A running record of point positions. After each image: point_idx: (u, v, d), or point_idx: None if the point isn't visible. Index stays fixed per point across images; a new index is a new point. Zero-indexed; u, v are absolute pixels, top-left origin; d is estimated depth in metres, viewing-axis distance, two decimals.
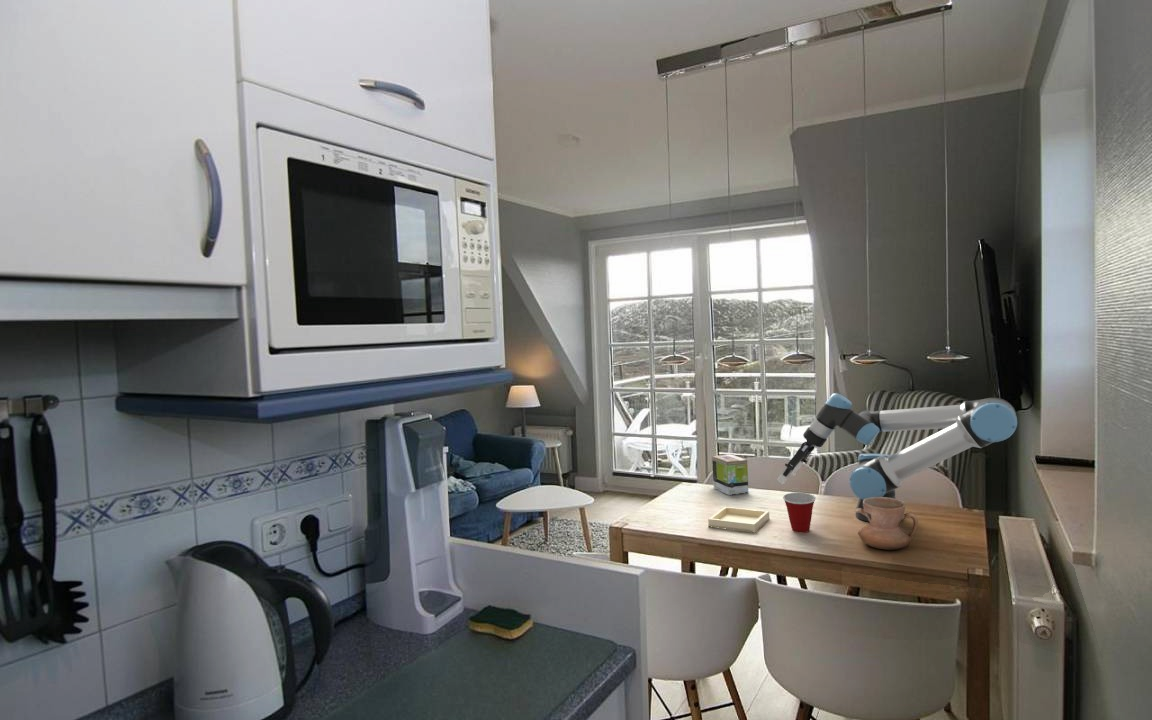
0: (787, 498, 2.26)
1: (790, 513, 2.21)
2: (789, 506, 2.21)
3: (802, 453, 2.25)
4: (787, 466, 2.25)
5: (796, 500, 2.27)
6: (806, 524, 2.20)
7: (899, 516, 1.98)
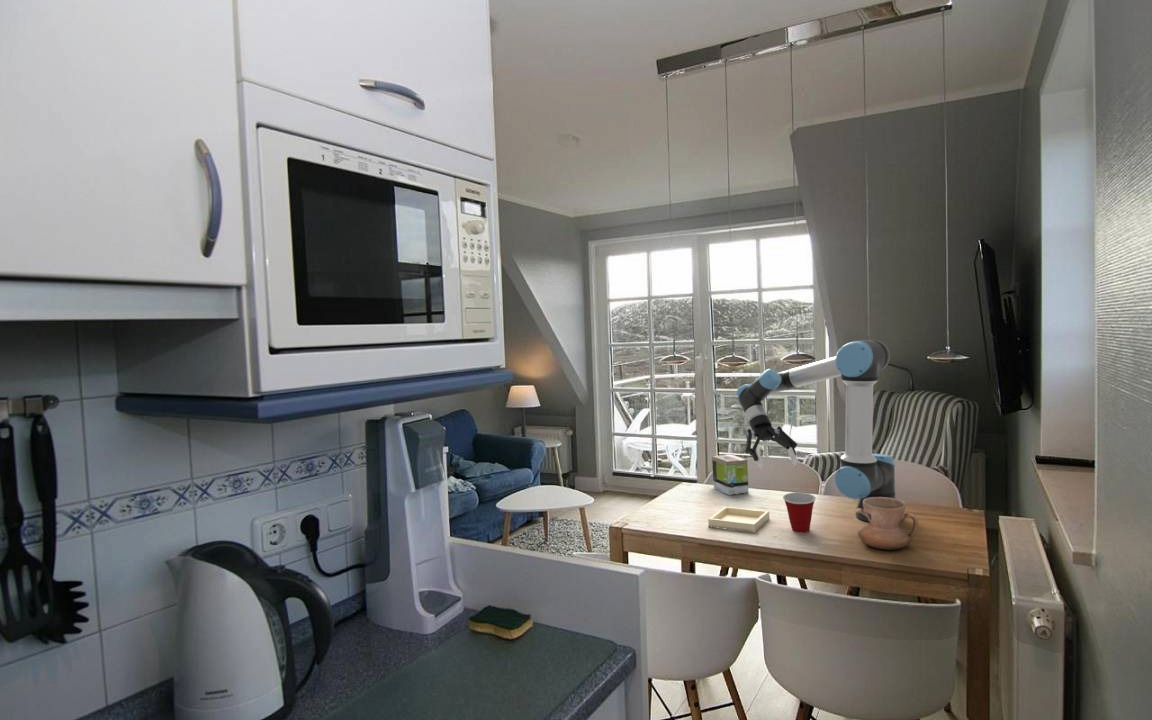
0: (787, 498, 2.26)
1: (790, 513, 2.21)
2: (789, 506, 2.21)
3: (748, 436, 2.41)
4: (746, 452, 2.38)
5: (796, 500, 2.27)
6: (806, 524, 2.20)
7: (899, 516, 1.98)
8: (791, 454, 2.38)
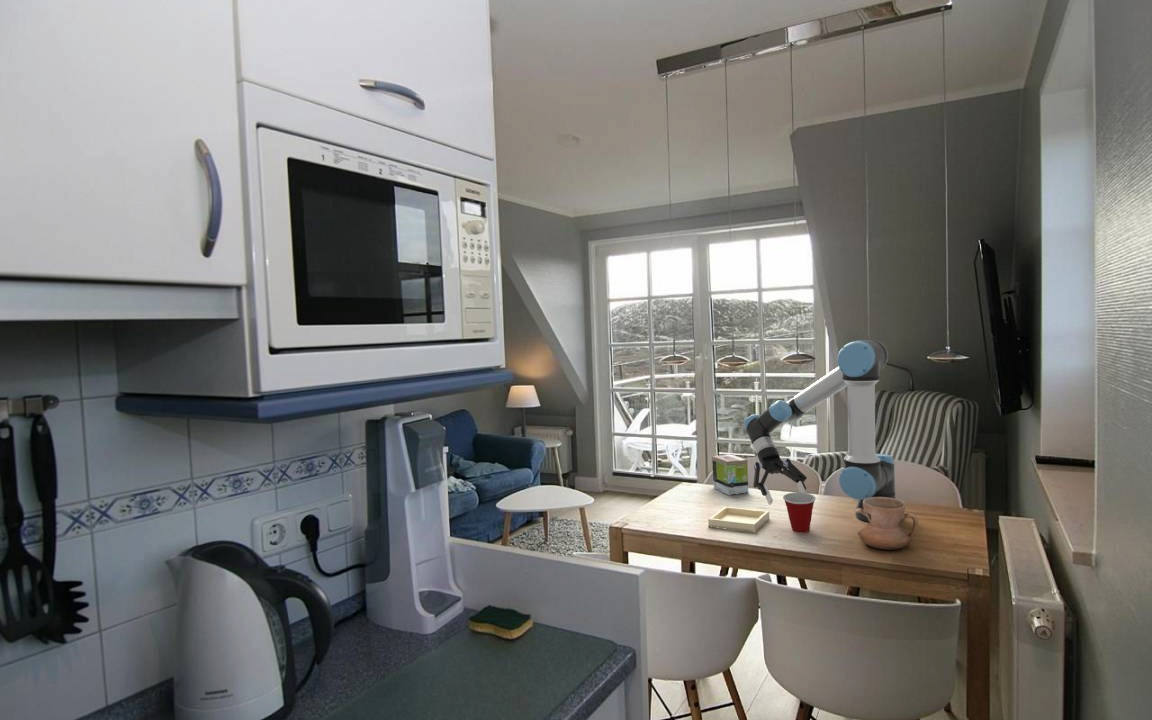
0: (787, 498, 2.26)
1: (790, 513, 2.21)
2: (789, 506, 2.21)
3: (756, 469, 2.35)
4: (754, 486, 2.32)
5: (796, 500, 2.27)
6: (806, 524, 2.20)
7: (899, 516, 1.98)
8: (800, 488, 2.32)
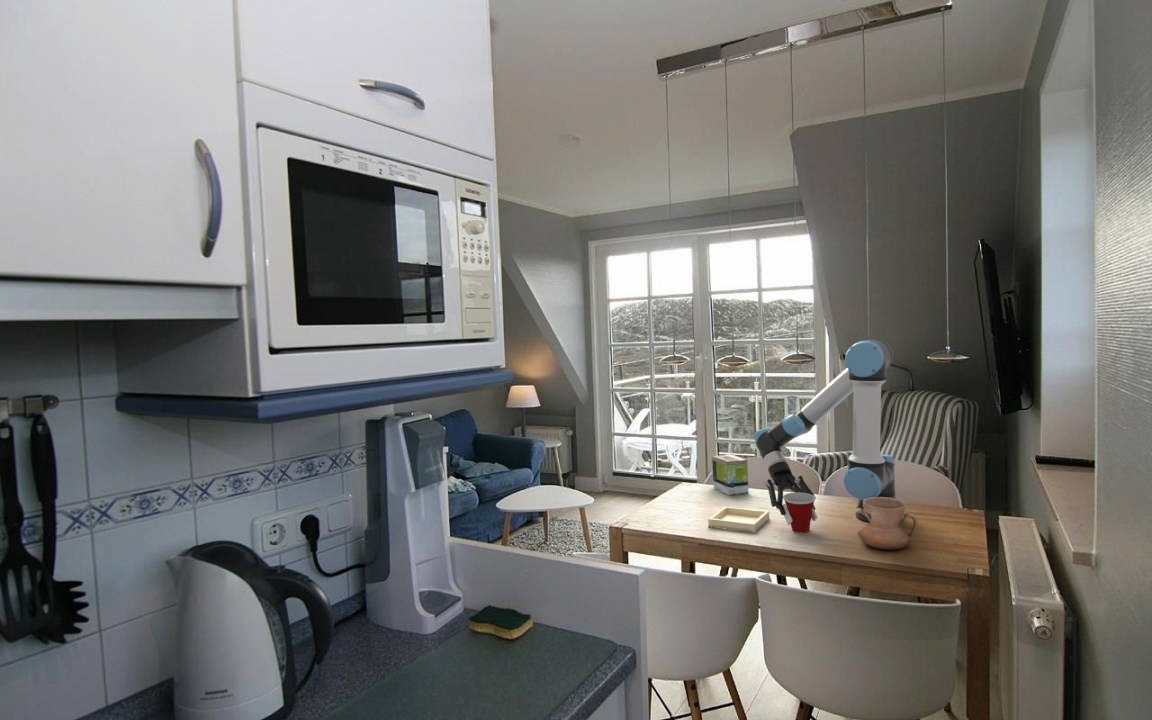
0: (787, 498, 2.26)
1: (790, 513, 2.21)
2: (789, 506, 2.21)
3: (769, 487, 2.29)
4: (772, 505, 2.25)
5: (796, 500, 2.27)
6: (806, 524, 2.20)
7: (899, 516, 1.98)
8: None
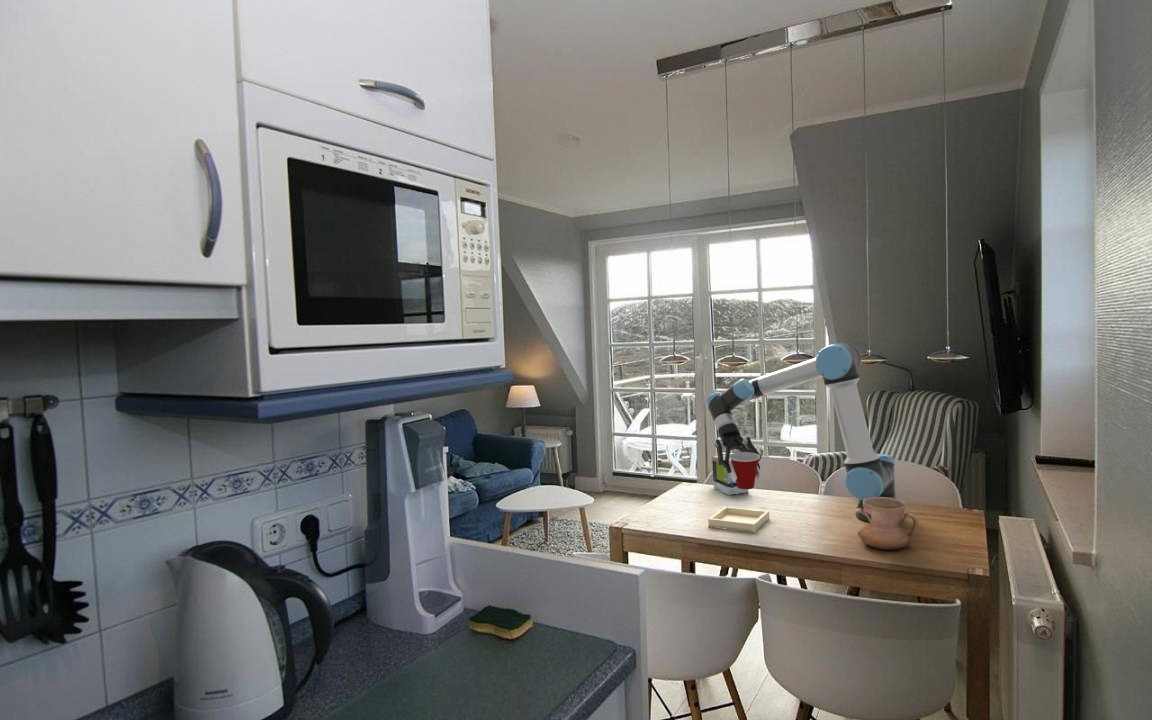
0: (734, 457, 2.36)
1: (735, 471, 2.31)
2: (734, 464, 2.31)
3: (718, 446, 2.39)
4: (719, 464, 2.35)
5: (742, 459, 2.37)
6: (750, 481, 2.30)
7: (899, 516, 1.98)
8: None
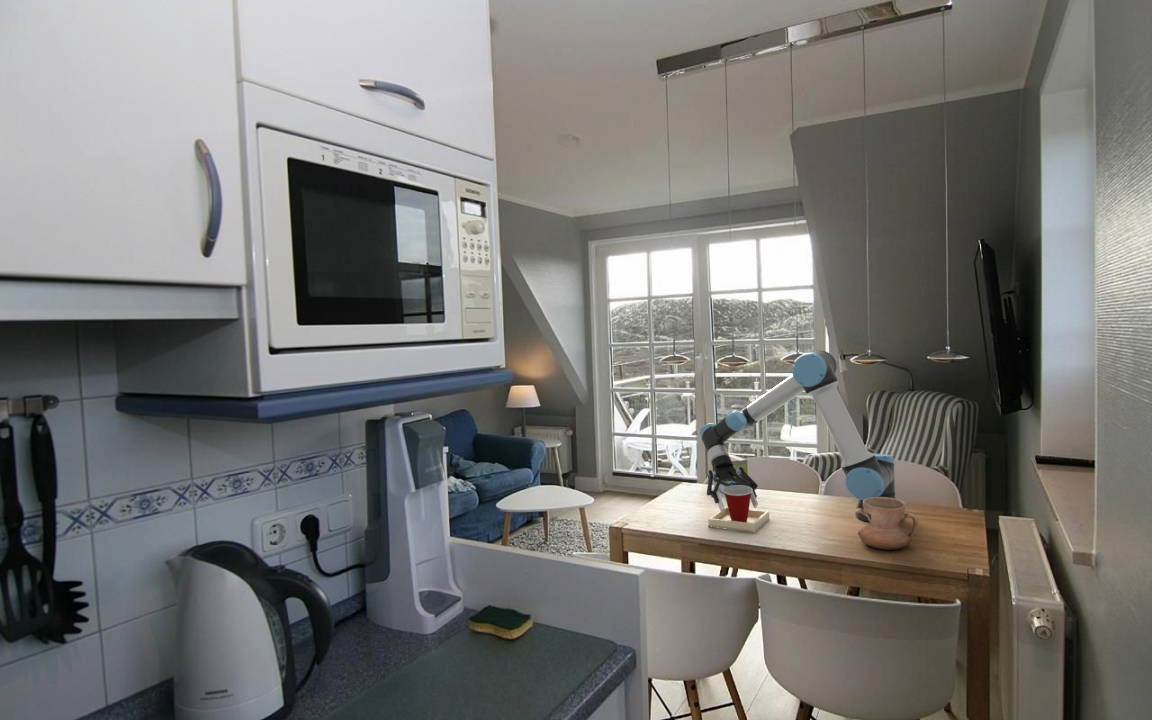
0: (727, 490, 2.38)
1: (729, 504, 2.34)
2: (727, 498, 2.33)
3: (709, 477, 2.41)
4: (707, 494, 2.38)
5: (736, 492, 2.39)
6: (743, 515, 2.32)
7: (899, 516, 1.98)
8: (751, 496, 2.38)
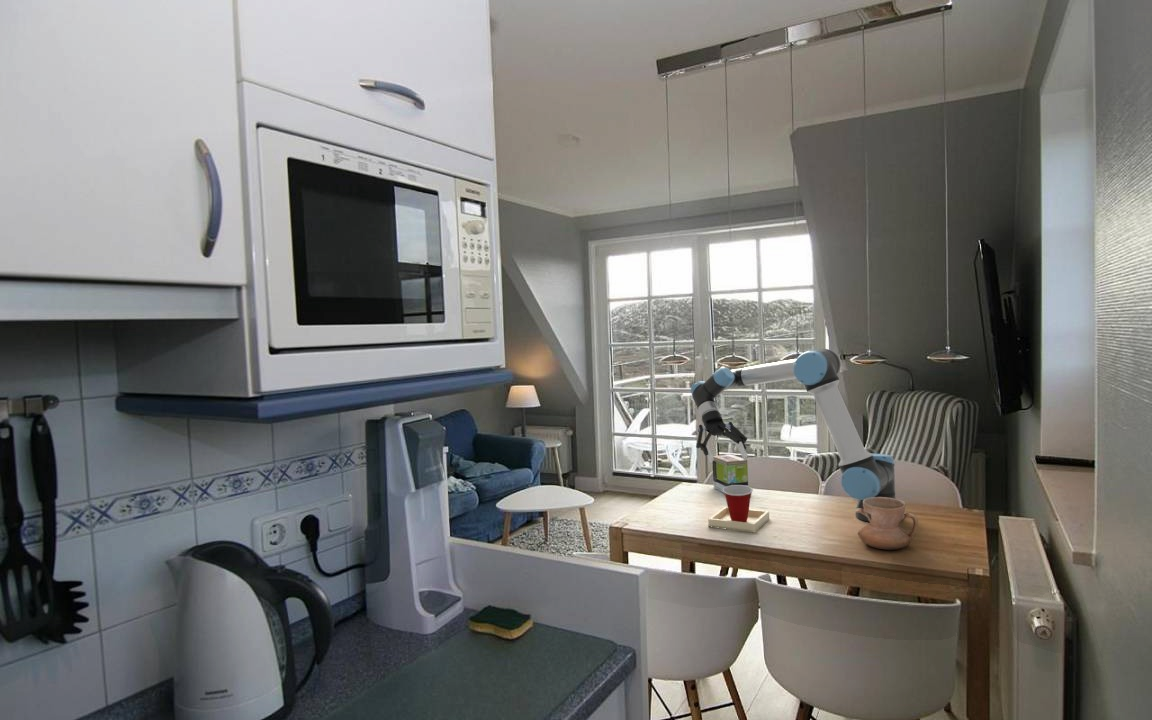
0: (727, 490, 2.38)
1: (729, 504, 2.34)
2: (727, 498, 2.33)
3: (699, 431, 2.48)
4: (696, 446, 2.44)
5: (736, 492, 2.39)
6: (743, 515, 2.32)
7: (899, 516, 1.98)
8: (741, 448, 2.44)
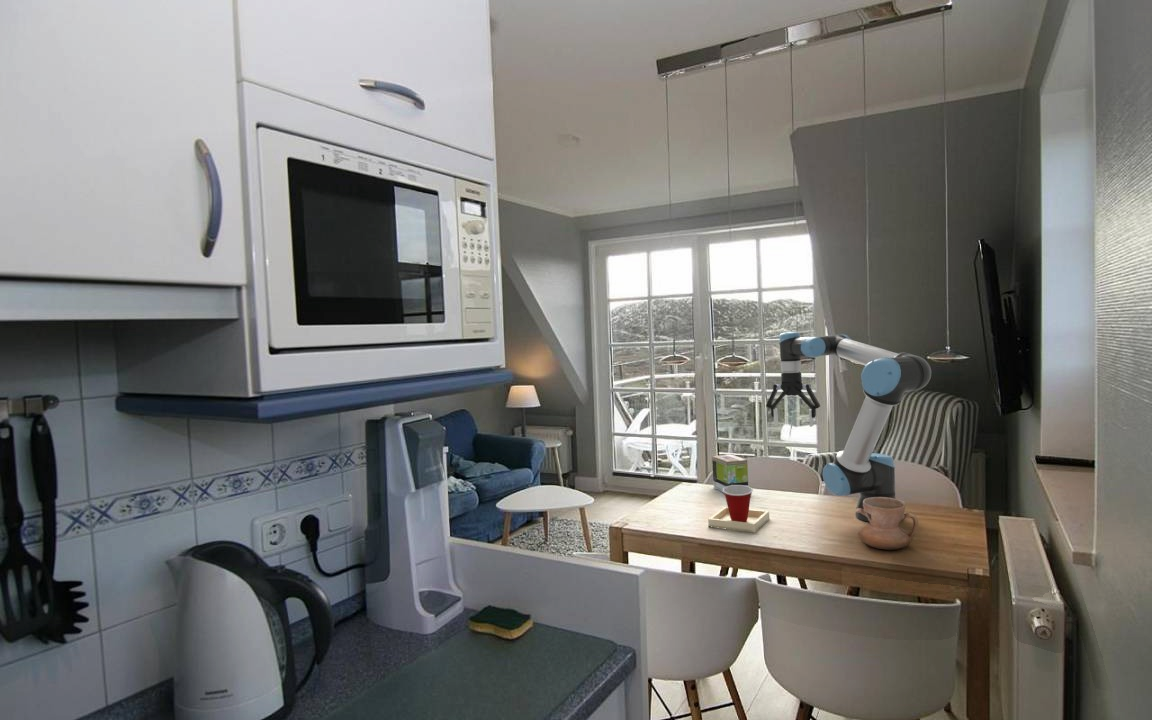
0: (727, 490, 2.38)
1: (729, 504, 2.34)
2: (727, 498, 2.33)
3: None
4: None
5: (736, 492, 2.39)
6: (743, 515, 2.32)
7: (899, 516, 1.98)
8: None
